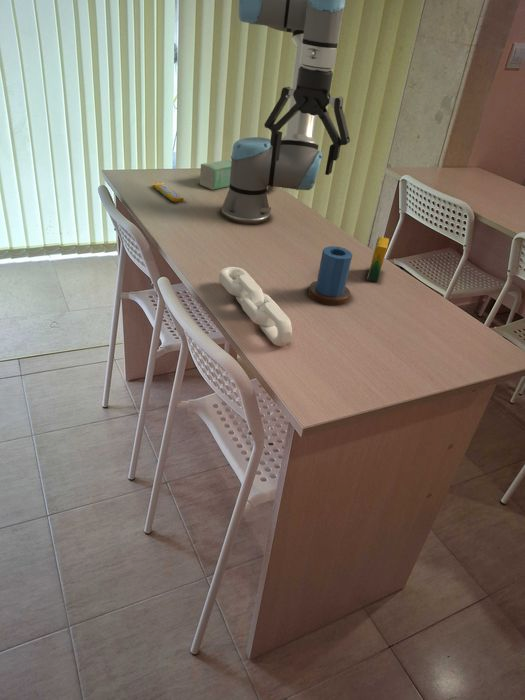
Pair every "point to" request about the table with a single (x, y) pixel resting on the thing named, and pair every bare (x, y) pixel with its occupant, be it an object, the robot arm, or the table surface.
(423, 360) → the table surface
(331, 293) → the towel roll
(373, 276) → the crayon box
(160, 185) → the candy bar
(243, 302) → the chain
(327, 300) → the stand base
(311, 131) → the robot arm
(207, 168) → the box
